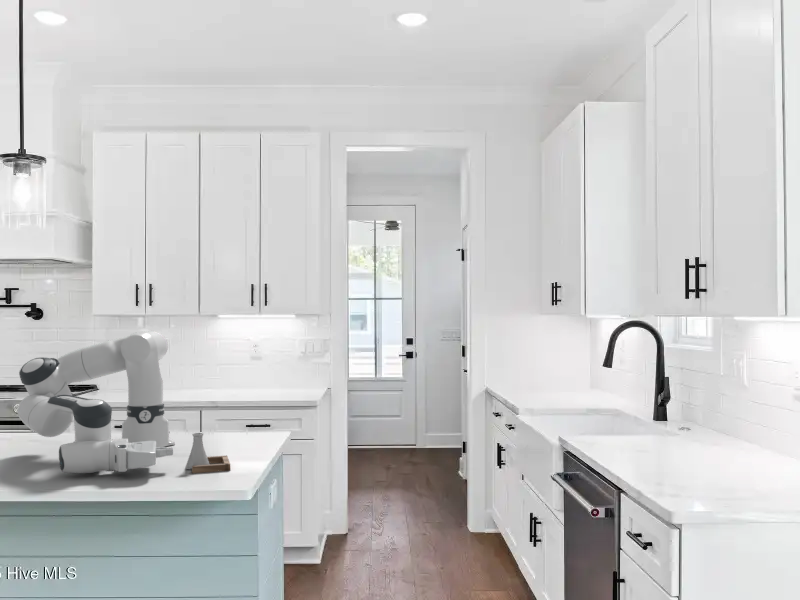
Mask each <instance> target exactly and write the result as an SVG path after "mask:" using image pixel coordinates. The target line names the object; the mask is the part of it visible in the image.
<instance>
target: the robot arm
mask: <svg viewBox="0 0 800 600" xmlns="http://www.w3.org/2000/svg"><path fill="white" fill-rule="evenodd" d="M168 349H169V344H168V339H166V337H165V336H164V335H163V334H162V333H160V332H158V331H154V330H146V331H137V332H133V333H131V334H130V335H128V336H124V337H120V338H116V339H111V340H108V341H103V342H100V343H96V344H93V345H90V346H89V345H88V346H86V347H82V348H79V349H75V350H73V351H70V352H68V353H65V354H64V355H62V356H60V357H58V358H54V357H36V358H33V359H30V360H29V361H27V362H25V363H24V364H23V366H21V368H20V370H19V372H18V373H19V374H18V375H19V379H20V382H21V383H22V384H23V385H24V387H25V389H26V392H27V393H28V395H27V396H26V397H24V398H23V399H22V400H21V401H20V402H19V404H18V407H17V415H18V418H19V419H20V421H22V423H23V424H24V425H25V426H26V427H27V428H28V429H30V430H31V431H33V432H35V433H36V434H37V435H39V436H42V437H46V438H53V437H58V436H60V435H62V434H64V433H65V432H66V431H67V430H68V429H69V428H70V426H71V425H72V423H73V422H74V441H73V442H68V443H64V444H61V445H60V446H59V448H58V460H59V464H58V465H59V468H60V470H61V472H63V473H67V474H91V473H92V474H94V473H97V472H101V471H104V472H119V473H123V472H127V471H128V470H134V469H135V470H136V469H142V468H149V467H153V466H155V465H156V462H157V461H156V459H157V458H163V457H168V456H173V455H174V448H173V446H174V445H176V442H175V440H173V439H172V438H171V437H170V434H171V433H170V425H169V424H170V423H169V420H168V419H167V418H166V417H165V416H164V415H165V410H166V409H165V403H164V384H163V383H164V382H163V381H164V380H163V377H162V375H161V369H160V363H159V362H160V361H161V360H162V359H163V358H164V357H165V355H166V354H167V352H168ZM122 371H125V372H126V376H127V385H128V386H127V387H128V388H127V389H128V391H127V393H128V399H127V401H128V403H127V406H126V416H127V418H125V420H124V421H123V422H122V424H121V438H114V439H113V438H112V415H113V408H112V407H111V405H109V403H107V402H106V401H104V400H102V399H96V398H95V399H93V398H86V397H80V396H77V395H76V396H75V395H74V394H73V393H72V391H71V389H70V387H69V385H70V384H74V383H80V382H85V381H90V380H94V379H98V378H101V377H105V376H108V375H112V374H116V373H119V372H122ZM73 420H74V421H73ZM169 446H170V447H169ZM171 446H172V447H171Z"/></svg>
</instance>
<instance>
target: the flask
mask: <svg viewBox="0 0 800 600" xmlns="http://www.w3.org/2000/svg"><path fill="white" fill-rule="evenodd" d="M191 434H192V437H193V440H192V441H193V442H192V447H191V450H190V453H189V456H188V459H187V462H186V464H185V470H192V466H196V465H210V464H209V461H208V458H207V457H208V456H207V453H206V450H205V447H204V442H203V436H204V433H203V432H193V433H191Z"/></svg>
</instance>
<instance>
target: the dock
mask: <svg viewBox="0 0 800 600" xmlns="http://www.w3.org/2000/svg"><path fill="white" fill-rule="evenodd" d="M207 458H208V461H209V464H210V465H196V466H192V469H191V473H192V474H202V473H214V472H229V471H231V463H230V460H229V457H228V455H216V456H215V455H213V456H211V455H210V456H207Z"/></svg>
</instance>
